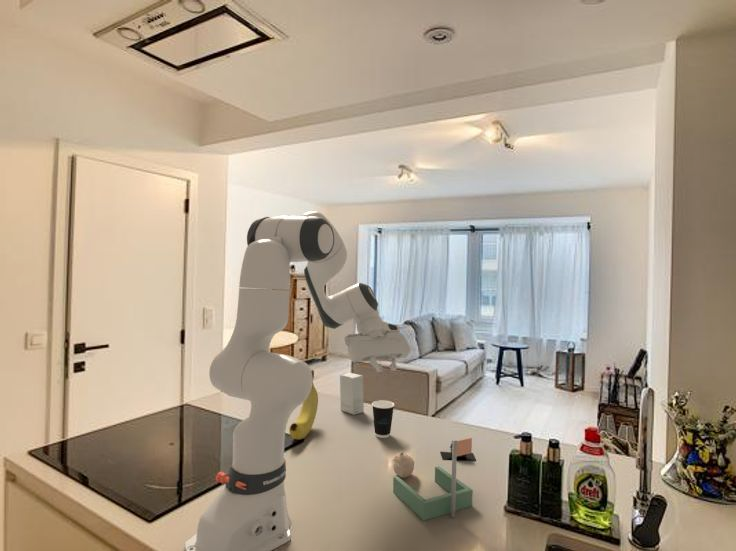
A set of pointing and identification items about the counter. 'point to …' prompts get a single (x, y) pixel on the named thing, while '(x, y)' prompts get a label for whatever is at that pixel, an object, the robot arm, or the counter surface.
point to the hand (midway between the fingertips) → (387, 370)
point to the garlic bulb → (403, 465)
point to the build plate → (459, 458)
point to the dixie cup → (382, 417)
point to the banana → (305, 415)
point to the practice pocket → (457, 490)
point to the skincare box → (351, 393)
